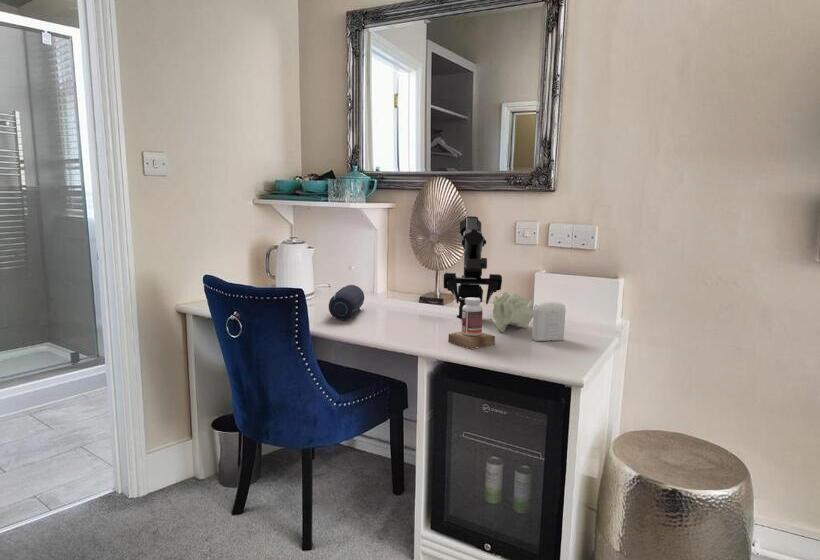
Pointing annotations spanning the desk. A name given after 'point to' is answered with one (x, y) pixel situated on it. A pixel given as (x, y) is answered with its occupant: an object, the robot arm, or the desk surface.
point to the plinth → (471, 339)
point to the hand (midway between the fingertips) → (472, 303)
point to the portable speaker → (346, 302)
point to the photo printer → (548, 321)
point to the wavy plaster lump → (511, 311)
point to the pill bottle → (472, 317)
